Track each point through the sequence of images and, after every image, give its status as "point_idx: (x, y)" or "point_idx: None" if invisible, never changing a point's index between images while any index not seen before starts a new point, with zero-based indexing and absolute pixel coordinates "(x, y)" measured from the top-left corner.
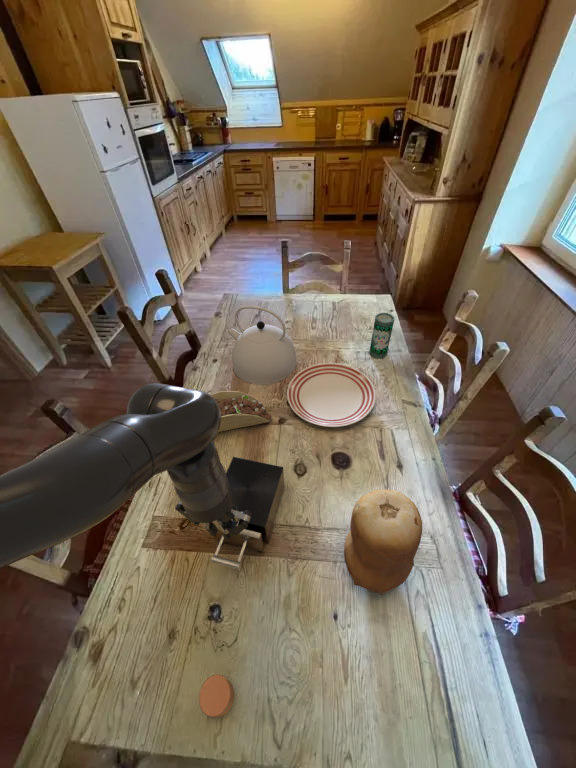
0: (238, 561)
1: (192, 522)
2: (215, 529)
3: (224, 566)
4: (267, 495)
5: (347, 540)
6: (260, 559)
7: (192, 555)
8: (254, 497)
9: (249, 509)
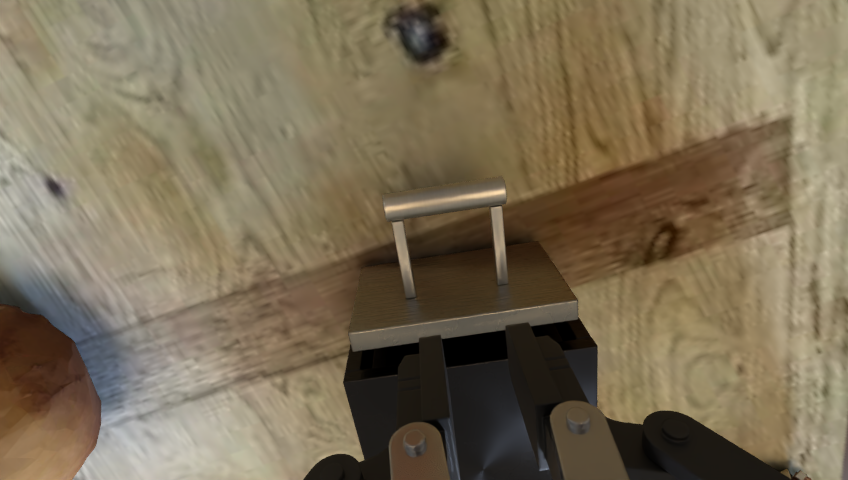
0: (398, 222)
1: (706, 429)
2: (516, 373)
3: (443, 185)
4: None
5: (28, 448)
6: (360, 242)
7: (590, 165)
8: None
9: None
